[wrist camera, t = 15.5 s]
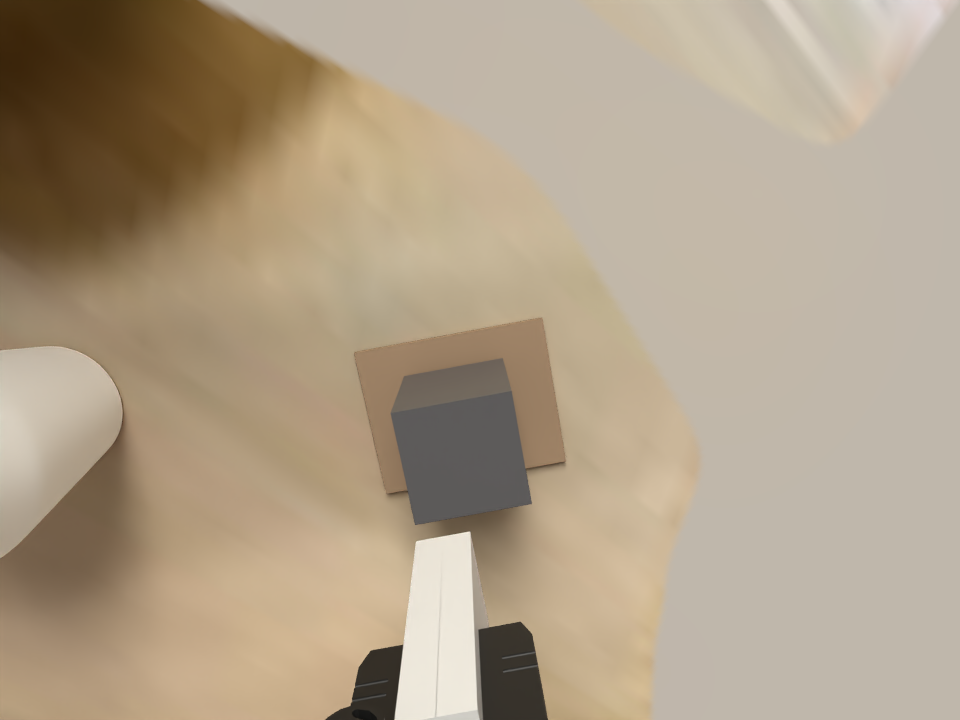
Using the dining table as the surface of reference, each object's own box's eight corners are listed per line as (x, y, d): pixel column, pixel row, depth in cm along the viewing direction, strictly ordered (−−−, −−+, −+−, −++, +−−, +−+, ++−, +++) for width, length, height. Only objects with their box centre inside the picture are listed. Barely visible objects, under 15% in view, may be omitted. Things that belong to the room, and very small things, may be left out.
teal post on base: (387, 490, 37) (369, 553, 30) (355, 352, 35) (329, 384, 28) (564, 458, 37) (587, 514, 30) (541, 317, 35) (560, 342, 28)
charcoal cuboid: (423, 468, 36) (415, 524, 29) (404, 376, 35) (390, 413, 28) (519, 451, 36) (531, 503, 29) (502, 358, 35) (511, 390, 28)
